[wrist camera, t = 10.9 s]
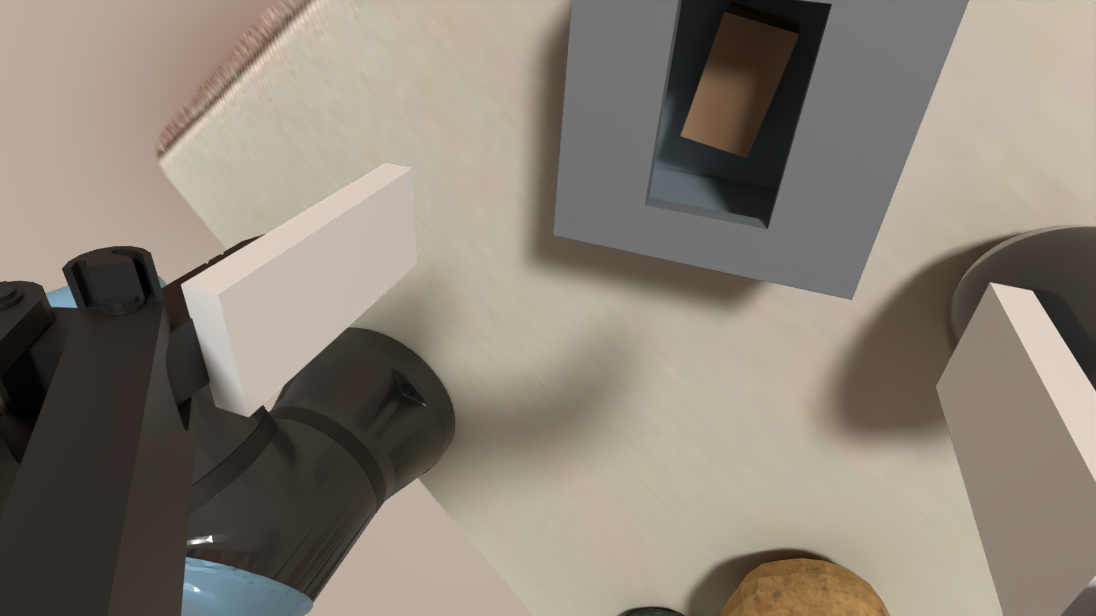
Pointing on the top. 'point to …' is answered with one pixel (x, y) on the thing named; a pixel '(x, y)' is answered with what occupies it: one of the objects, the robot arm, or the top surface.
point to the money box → (777, 152)
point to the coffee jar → (653, 613)
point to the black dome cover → (1038, 286)
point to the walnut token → (740, 78)
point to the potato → (803, 591)
